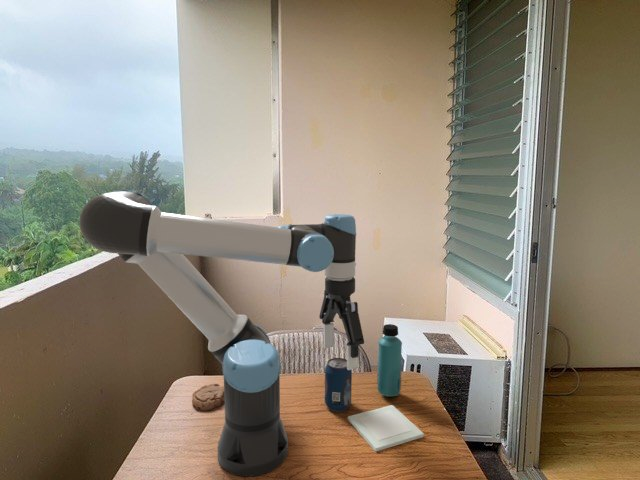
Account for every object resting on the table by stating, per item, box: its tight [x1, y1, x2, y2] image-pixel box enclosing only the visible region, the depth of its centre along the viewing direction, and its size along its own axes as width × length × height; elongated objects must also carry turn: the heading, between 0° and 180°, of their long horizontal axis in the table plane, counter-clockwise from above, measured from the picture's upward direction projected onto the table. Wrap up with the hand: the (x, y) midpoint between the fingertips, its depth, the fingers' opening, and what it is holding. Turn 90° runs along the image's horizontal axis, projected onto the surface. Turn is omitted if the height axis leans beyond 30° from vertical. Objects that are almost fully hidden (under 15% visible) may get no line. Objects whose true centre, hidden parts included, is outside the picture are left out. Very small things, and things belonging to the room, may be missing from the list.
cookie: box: [191, 383, 224, 412], centre depth 110 cm, size 10×11×3 cm
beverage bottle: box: [376, 323, 403, 397], centre depth 112 cm, size 6×7×20 cm
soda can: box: [324, 357, 353, 413], centre depth 107 cm, size 7×7×12 cm
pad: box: [347, 404, 425, 453], centre depth 99 cm, size 13×13×1 cm
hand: (339, 357), depth 106 cm, fingers open, 13 cm apart
